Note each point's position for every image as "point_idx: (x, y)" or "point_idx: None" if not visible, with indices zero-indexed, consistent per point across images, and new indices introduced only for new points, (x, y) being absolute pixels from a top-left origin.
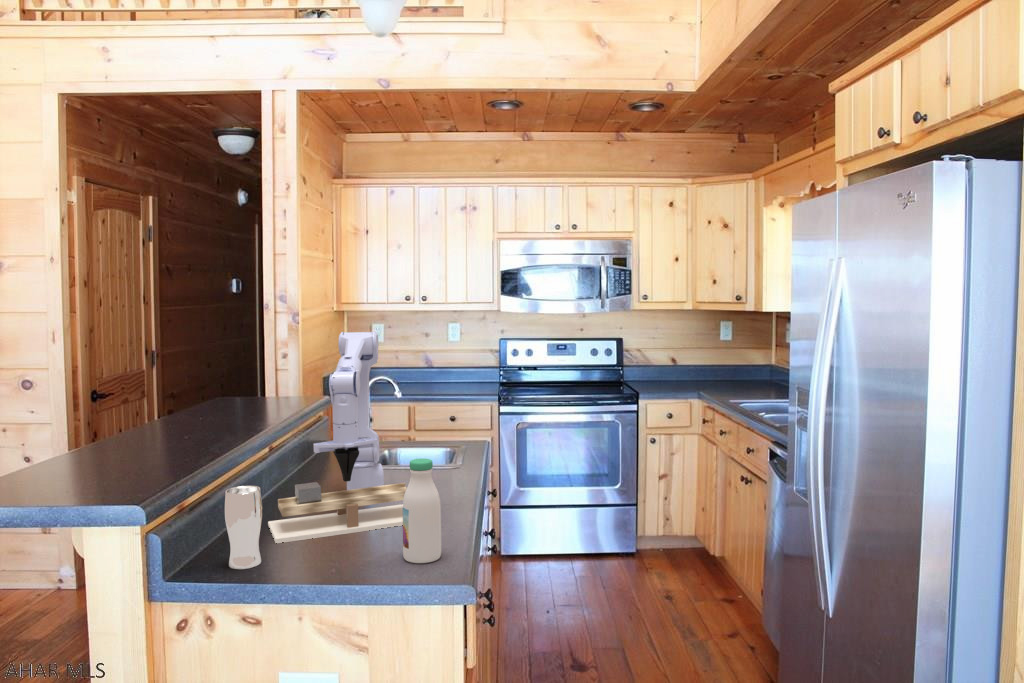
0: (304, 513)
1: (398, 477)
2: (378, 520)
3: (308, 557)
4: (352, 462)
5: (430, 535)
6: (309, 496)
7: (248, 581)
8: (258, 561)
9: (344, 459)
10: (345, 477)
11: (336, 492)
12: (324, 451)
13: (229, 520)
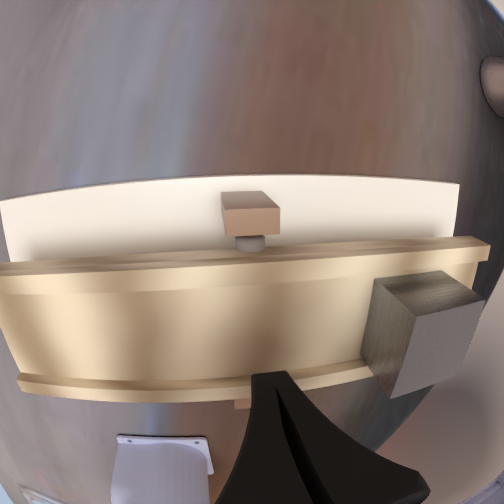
0: (424, 238)
1: (104, 501)
2: (137, 237)
3: (401, 30)
4: (261, 463)
5: None
6: (435, 290)
7: (484, 3)
8: (487, 61)
9: (348, 473)
10: (290, 382)
11: None
12: (474, 495)
13: None
